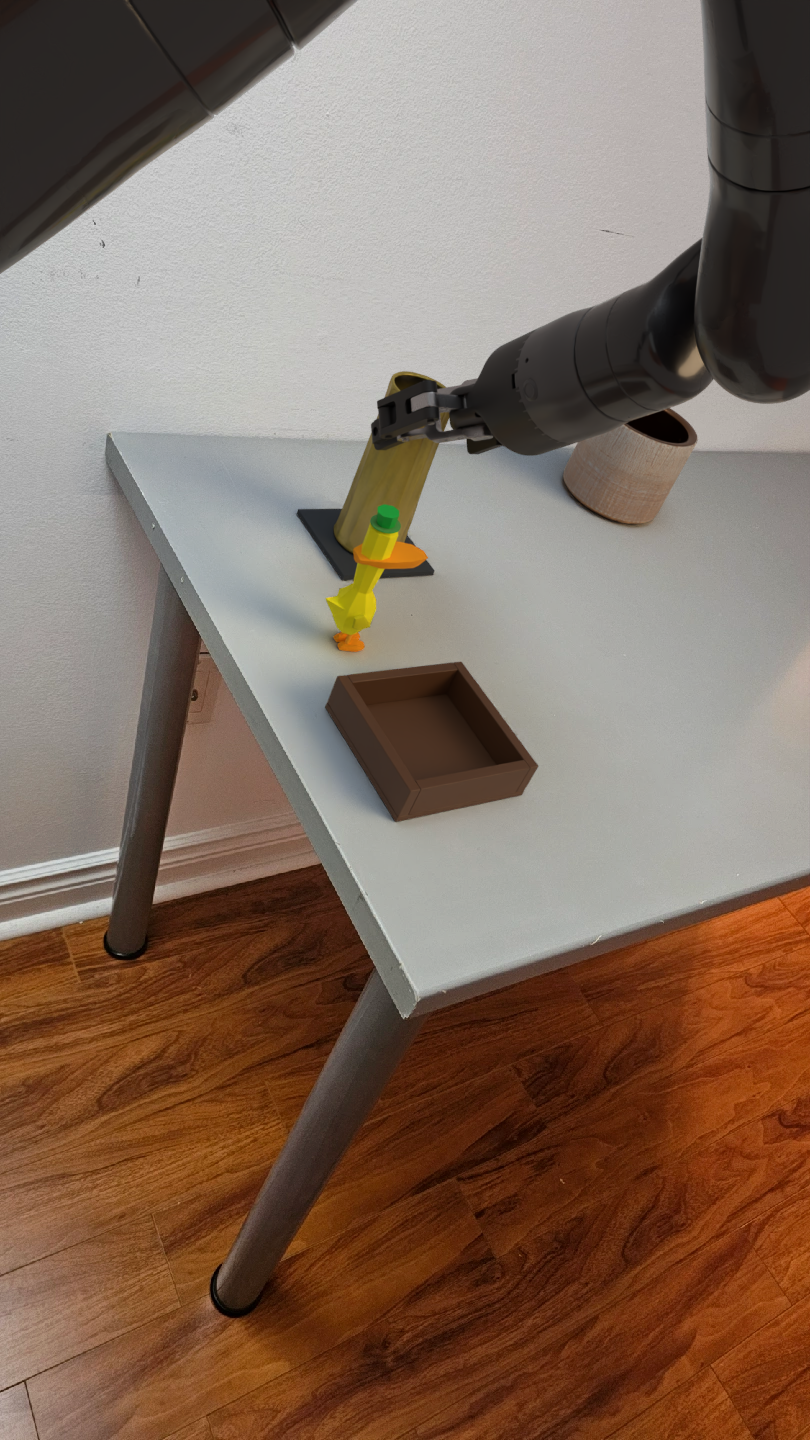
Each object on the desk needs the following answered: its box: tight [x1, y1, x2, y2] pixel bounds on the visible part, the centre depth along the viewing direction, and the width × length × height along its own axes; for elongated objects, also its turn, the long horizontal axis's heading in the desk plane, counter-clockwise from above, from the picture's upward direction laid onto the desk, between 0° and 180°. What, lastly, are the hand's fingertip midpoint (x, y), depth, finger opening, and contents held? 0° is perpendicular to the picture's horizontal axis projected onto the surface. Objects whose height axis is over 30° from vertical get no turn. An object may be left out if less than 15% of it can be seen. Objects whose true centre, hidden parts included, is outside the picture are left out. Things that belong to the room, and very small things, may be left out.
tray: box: [324, 661, 539, 823], centre depth 72 cm, size 11×11×3 cm
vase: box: [334, 370, 450, 554], centre depth 85 cm, size 6×6×14 cm
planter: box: [562, 408, 699, 525], centre depth 109 cm, size 11×11×10 cm
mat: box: [296, 508, 436, 581], centre depth 90 cm, size 9×9×1 cm
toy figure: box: [324, 504, 429, 653], centre depth 75 cm, size 7×4×12 cm, turn 114°
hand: (424, 438), depth 81 cm, fingers open, 8 cm apart
